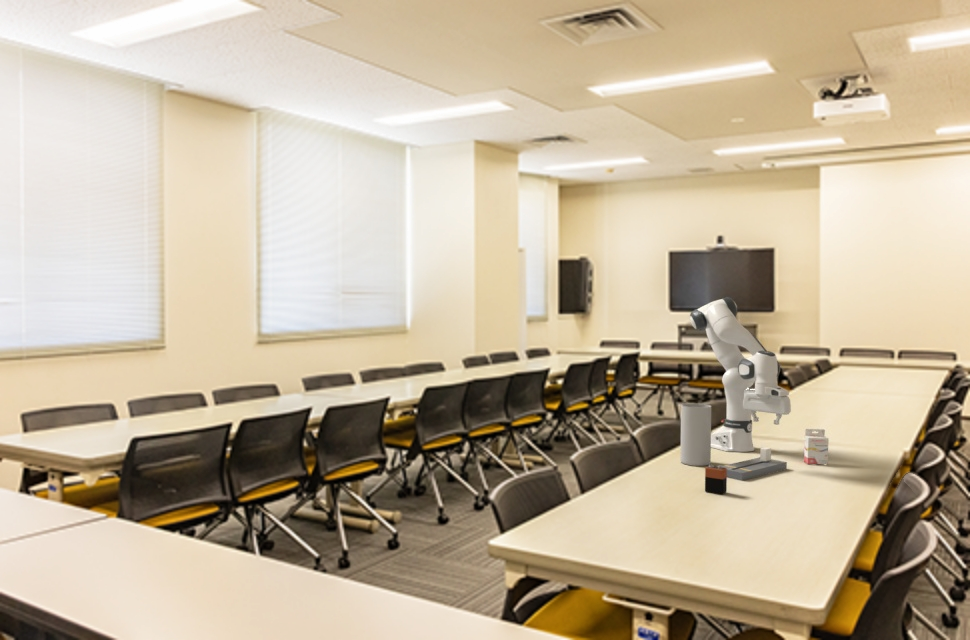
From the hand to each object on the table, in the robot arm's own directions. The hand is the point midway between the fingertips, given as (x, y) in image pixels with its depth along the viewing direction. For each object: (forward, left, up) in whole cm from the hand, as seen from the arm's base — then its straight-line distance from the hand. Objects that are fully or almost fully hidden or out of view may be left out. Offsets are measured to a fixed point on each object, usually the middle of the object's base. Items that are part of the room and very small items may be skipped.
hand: (766, 422), depth 309 cm
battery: (+10, -49, -20) cm, 54 cm away
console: (0, -10, -19) cm, 22 cm away
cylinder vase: (-24, -15, -19) cm, 34 cm away
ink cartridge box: (+8, +26, -20) cm, 34 cm away
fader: (0, 0, -18) cm, 18 cm away
